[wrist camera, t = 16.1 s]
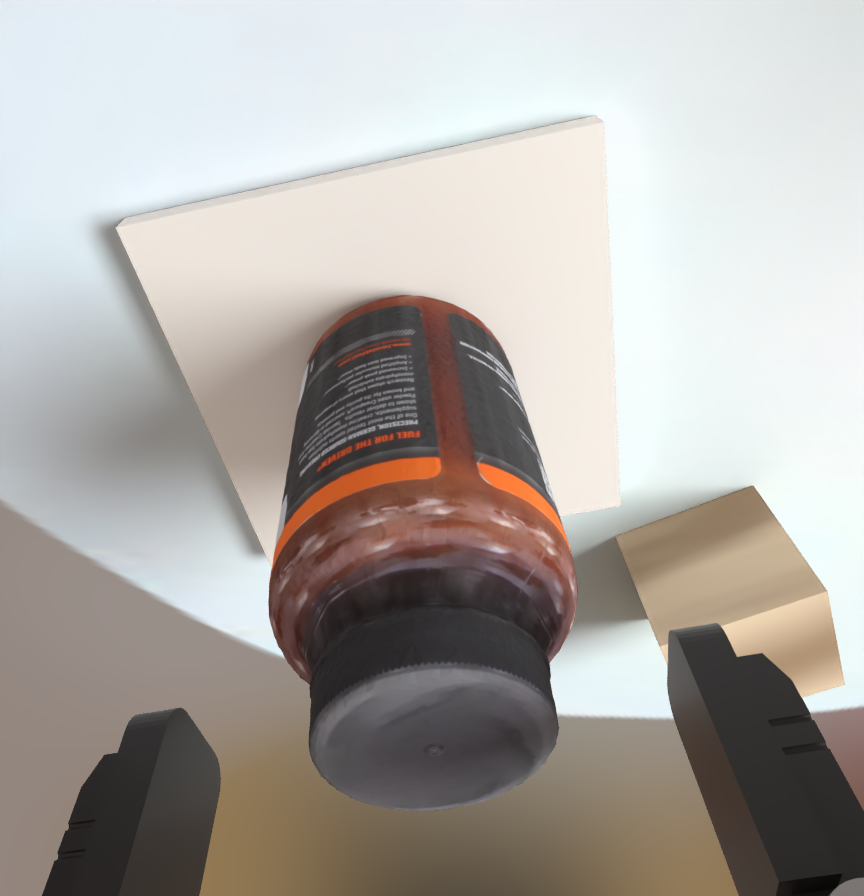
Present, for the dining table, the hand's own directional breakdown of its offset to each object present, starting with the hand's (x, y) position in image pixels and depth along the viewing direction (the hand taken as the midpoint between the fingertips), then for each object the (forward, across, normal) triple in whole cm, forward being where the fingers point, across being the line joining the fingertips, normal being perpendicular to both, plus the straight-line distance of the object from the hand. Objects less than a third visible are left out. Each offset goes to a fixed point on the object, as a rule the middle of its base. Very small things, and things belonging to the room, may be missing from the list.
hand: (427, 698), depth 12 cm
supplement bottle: (+11, 0, 0) cm, 11 cm away
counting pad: (+11, 0, 0) cm, 11 cm away
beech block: (+11, -9, +10) cm, 18 cm away
